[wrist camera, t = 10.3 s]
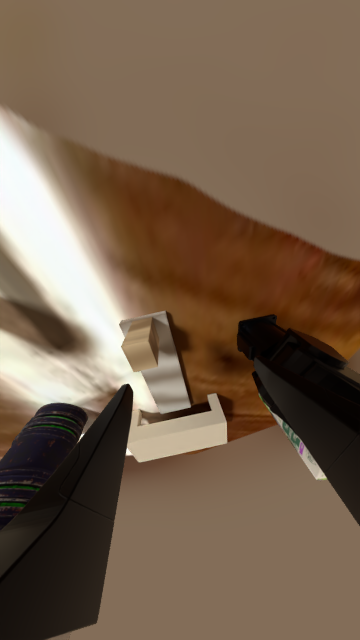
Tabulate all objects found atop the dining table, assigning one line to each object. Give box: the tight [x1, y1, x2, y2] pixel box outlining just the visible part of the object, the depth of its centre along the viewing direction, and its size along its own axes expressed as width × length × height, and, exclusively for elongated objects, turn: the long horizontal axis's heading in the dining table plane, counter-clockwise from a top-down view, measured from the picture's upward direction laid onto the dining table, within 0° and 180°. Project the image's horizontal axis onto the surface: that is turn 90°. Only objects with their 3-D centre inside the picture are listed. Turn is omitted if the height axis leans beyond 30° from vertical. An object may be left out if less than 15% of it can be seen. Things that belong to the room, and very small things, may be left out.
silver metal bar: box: [119, 311, 191, 414], centre depth 24 cm, size 24×7×8 cm, turn 11°
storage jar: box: [0, 403, 88, 531], centre depth 23 cm, size 10×10×15 cm
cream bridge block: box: [127, 393, 227, 462], centre depth 31 cm, size 20×9×6 cm, turn 100°
